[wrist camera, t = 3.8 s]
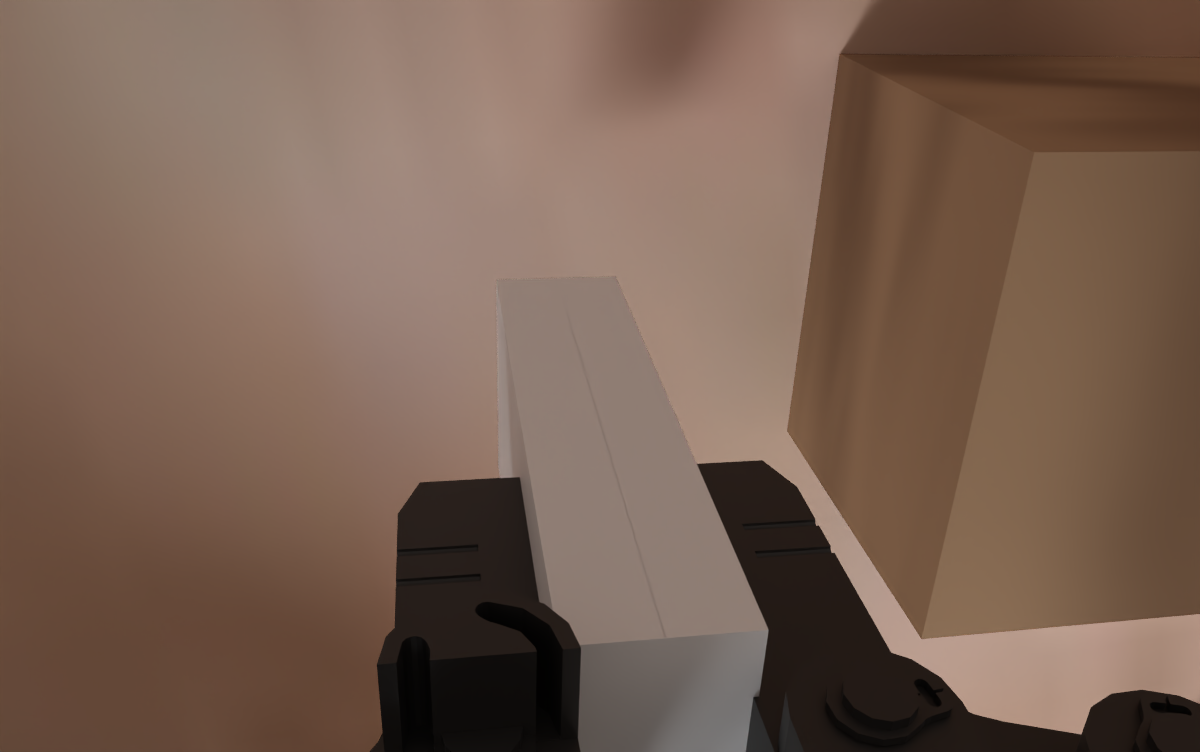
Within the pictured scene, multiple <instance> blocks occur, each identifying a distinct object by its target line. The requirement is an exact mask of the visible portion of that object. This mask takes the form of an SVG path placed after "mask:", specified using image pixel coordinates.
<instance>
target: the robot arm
mask: <svg viewBox="0 0 1200 752" xmlns="http://www.w3.org/2000/svg"><path fill="white" fill-rule="evenodd" d="M496 306H497V392H498V467H499V475H500V478H493V479H475V480H457V481H438V482H420V483H419V485H418V486H417V488H416V489H415V490H414V492H413V493H412V495H411V496H410V498H409V499H408V500H407V502H406V503H405V505H404V506H403V508H402V509H401V510H400V512H399V513H398V530H397V567H396V603H395V628H394V629H393V630H392V631H391V632H390V633H389V634H388V635H387V636H386V638H385V641H384V645H383V648H382V651H381V654H380V657H379V660H378V663H377V670H378V682H379V694H380V706H381V718H382V730H383V734H382V735H381V737H380V739H379V741H378V743H377V744H376V745H375V746H374V747H373V748H372V750H371V751H370V752H1200V704H1198V703H1196V702H1193V701H1191V700H1188V699H1186V698H1183V697H1181V696H1177V695H1171V694H1165V693H1158V692H1152V691H1146V690H1137V691H1130V692H1122V693H1114V694H1111V695H1109V696H1108V697H1106V698H1105V699H1103V700H1101V701H1100V702H1098V703H1097V704H1095V705H1094V706H1092V707H1091V709H1090V712H1089V715H1088V718H1087V721H1086V723H1085V726H1084V729H1083V732H1082V735H1080V734H1074V733H1068V732H1062V731H1056V730H1050V729H1044V728H1038V727H1032V726H1026V725H1020V724H1014V723H1008V722H1002V721H998V720H994V719H990V718H986V717H982V716H978V715H974V714H972V713H970V712H968V710H967V709H966V707H965V706H964V704H963V702H962V701H961V700H960V699H959V698H958V696H957V695H956V694H955V693H954V692H953V691H952V690H951V689H950V687H949V686H948V685H947V684H946V683H945V682H944V681H943V680H942V678H941V677H939V676H937V675H936V674H934V673H933V672H931V671H929V670H928V669H926V668H925V667H923V666H921V665H920V664H918V663H917V662H915V661H913V660H912V659H909V658H906V657H903V656H899V655H896V654H893V653H891V652H890V650H889V648H888V646H887V645H886V643H885V641H884V639H883V638H882V636H881V634H880V632H879V631H878V629H877V627H876V625H875V624H874V622H873V620H872V618H871V616H870V615H869V613H868V611H867V609H866V608H865V606H864V604H863V602H862V601H861V599H860V597H859V595H858V594H857V592H856V590H855V588H854V587H853V585H852V583H851V581H850V579H849V578H848V576H847V574H846V572H845V571H844V569H843V567H842V565H841V564H840V562H839V560H838V558H837V557H836V555H835V553H831V549H830V544H829V542H828V541H827V539H826V537H825V535H824V534H823V532H822V530H821V528H820V527H819V526H816V524H815V518H814V516H813V514H812V513H811V511H810V509H809V507H808V505H807V504H806V502H805V500H804V498H803V497H802V495H801V493H800V491H799V490H798V488H797V487H796V486H795V485H794V484H792V483H791V482H790V481H788V480H787V479H786V478H785V477H783V476H782V475H781V474H779V473H778V472H777V471H775V470H774V469H773V468H771V467H770V466H769V465H768V464H766V463H765V462H764V461H762V460H761V461H743V462H724V463H706V464H697V463H696V461H695V459H694V456H693V454H692V452H691V450H690V447H689V445H688V443H687V440H686V438H685V436H684V433H683V431H682V429H681V426H680V424H679V422H678V419H677V417H676V415H675V413H674V410H673V408H672V406H671V403H670V401H669V399H668V396H667V394H666V392H665V389H664V387H663V385H662V382H661V380H660V378H659V376H658V373H657V371H656V369H655V366H654V364H653V362H652V359H651V357H650V355H649V352H648V350H647V348H646V346H645V343H644V341H643V339H642V336H641V334H640V332H639V329H638V327H637V325H636V322H635V320H634V318H633V315H632V313H631V311H630V309H629V306H628V304H627V302H626V299H625V297H624V295H623V292H622V290H621V288H620V285H619V283H618V281H617V279H616V276H611V277H573V278H534V279H496Z"/></svg>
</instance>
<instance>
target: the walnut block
mask: <svg viewBox="0 0 1200 752" xmlns="http://www.w3.org/2000/svg"><path fill="white" fill-rule="evenodd" d="M787 431H788V433H789V435H790V436H791V438H792V439H793V441H794V442H795V444H796V445H797V447H798V448H799V450H800V452H801V453H802V455H803V456H804V458H805V459H806V461H807V462H808V464H809V466H810V467H811V469H812V470H813V472H814V473H815V475H816V476H817V478H818V479H819V481H820V483H821V484H822V486H823V487H824V489H825V490H826V492H827V493H828V495H829V496H830V498H831V500H832V501H833V503H834V504H835V506H836V507H837V509H838V510H839V512H840V513H841V515H842V517H843V518H844V520H845V521H846V523H847V524H848V526H849V527H850V529H851V530H852V532H853V534H854V535H855V537H856V538H857V540H858V541H859V543H860V544H861V546H862V547H863V549H864V551H865V552H866V554H867V555H868V557H869V558H870V560H871V561H872V563H873V565H874V566H875V568H876V569H877V571H878V572H879V574H880V575H881V577H882V578H883V580H884V582H885V583H886V585H887V586H888V588H889V589H890V591H891V592H892V594H893V595H894V597H895V599H896V600H897V602H898V603H899V605H900V606H901V608H902V609H903V611H904V612H905V614H906V616H907V617H908V619H909V620H910V622H911V623H912V625H913V626H914V628H915V629H916V631H917V633H918V634H919V636H920V637H921V639H927V638H938V637H949V636H960V635H971V634H982V633H993V632H1004V631H1015V630H1026V629H1037V628H1048V627H1059V626H1071V625H1082V624H1093V623H1104V622H1115V621H1126V620H1137V619H1148V618H1159V617H1170V616H1181V615H1192V614H1200V57H1100V56H998V55H894V54H840V55H839V62H838V70H837V77H836V84H835V91H834V98H833V106H832V113H831V120H830V127H829V134H828V141H827V149H826V156H825V163H824V170H823V177H822V185H821V192H820V199H819V206H818V213H817V220H816V228H815V235H814V242H813V249H812V256H811V263H810V271H809V278H808V285H807V292H806V299H805V307H804V314H803V321H802V328H801V335H800V342H799V350H798V357H797V364H796V371H795V378H794V386H793V393H792V400H791V407H790V414H789V421H788V429H787Z"/></svg>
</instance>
